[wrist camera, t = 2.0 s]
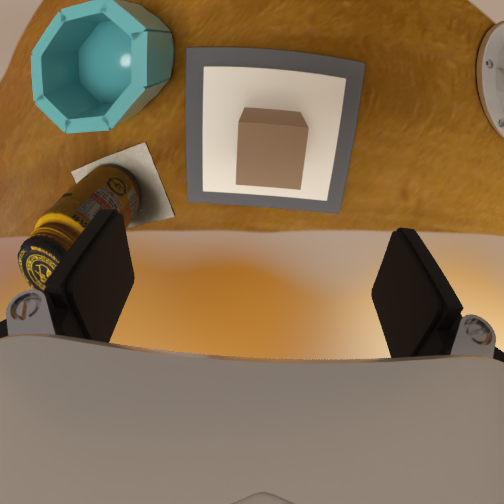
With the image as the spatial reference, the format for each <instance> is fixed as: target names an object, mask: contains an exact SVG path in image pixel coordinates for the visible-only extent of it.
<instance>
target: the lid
mask: <svg viewBox="0 0 504 504" xmlns="http://www.w3.org/2000/svg"><path fill="white" fill-rule="evenodd" d="M345 84H346V79H345V78H341V77H335V76H329V75H323V74H316V73H308V72H300V71H291V70H281V69H269V68H255V67H232V66H204V79H203V191H207V192H225V193H240V194H255V195H268V196H280V197H292V198H303V199H313V200H323V201H327V197H328V191H329V186H330V180H331V175H332V169H333V163H334V158H335V152H336V145H337V139H338V133H339V126H340V120H341V113H342V106H343V99H344V91H345Z"/></svg>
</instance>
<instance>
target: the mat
mask: <svg viewBox="0 0 504 504" xmlns="http://www.w3.org/2000/svg"><path fill="white" fill-rule="evenodd" d="M204 66H232V67H255V68H269V69H281V70H291V71H300V72H308V73H316V74H323V75H329V76H335V77H341V78H345V79H346V84H345V91H344V99H343V106H342V113H341V120H340V126H339V133H338V139H337V145H336V152H335V158H334V163H333V169H332V175H331V180H330V186H329V191H328V197H327V201H323V200H313V199H303V198H292V197H280V196H268V195H255V194H240V193H225V192H207V191H203V79H204ZM364 69H365V63H362V62H357V61H352V60H347V59H342V58H336V57H330V56H324V55H317V54H310V53H302V52H294V51H284V50H273V49H259V48H238V47H193V48H186V93H185V119H186V170H187V197H188V202H193V203H211V204H227V205H242V206H256V207H269V208H281V209H293V210H304V211H315V212H326V213H336V214H339V211H340V207H341V202H342V197H343V193H344V188H345V183H346V178H347V173H348V168H349V163H350V157H351V152H352V147H353V141H354V135H355V129H356V123H357V117H358V111H359V105H360V98H361V91H362V84H363V77H364Z"/></svg>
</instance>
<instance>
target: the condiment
mask: <svg viewBox="0 0 504 504" xmlns="http://www.w3.org/2000/svg"><path fill="white" fill-rule="evenodd" d="M130 169H132V171H131V170H130ZM134 170H136V172H134ZM71 173H72V175H73V177H74V179H75V181H76V183H77V184H76V185H74V186H73V187H72V188H70V190H68V192H67V193H66V194H64V195H63V196H62V197H61V198H60V199H59V200H58V201H57V202H56V203H55V204H54V205H53V206H52V207H51V208H50V209H49V210H48V211H46V212H45V213H44V214H43V215H42V216H41V218H40V219H39V220H38V222H37V224H36V225H35V229H34V231H33V232H32V233H31V234H30V236H29V238H28V239H27V240H26V241H24V243H23V244H22V246H21V249H20V251H19V253H18V262H19V267H20V269H21V272H22V274H23V276H24V278H25V279H26V281H27V282H28V283H29V285H30V286H31V287H32V288H33V289H35V290H39V291H41V292H42V293H43V291H44V289H45V288H46V286H45V282H46V281H47V279H48V278H49V276H50V275H51V273H52V272H53V270H54V269H55V268H56V266H57V265H58V263H59V262H60V261H61V259H62V258H63V257H64V255H65V254H66V252H67V251H68V250H69V248H70V247H71V246H72V244H73V243H74V242H75V240H76V239H77V238H78V237H79V235H80V234H81V233H82V231H83V230H84V229H85V228H86V226H87V225H88V224H89V223H90V221H91V220H92V219H93V218H94V217H95V215H96V214H97V213H98V212H99V210H101V209H116V210H118V212H119V213H121V214H122V215H123V219H124V224H125V230H126V229H127V228H129V227H133V226H137V225H143V224H146V223H150V222H153V221H158V220H163V219H167V218H171V217H174V214H173V211H172V209H171V205H170V203H169V200H168V198H167V196H166V193H165V190H164V188H163V185H162V183H161V180H160V178H159V174H158V172H157V170H156V168H155V166H154V163H153V160H152V158H151V155H150V153H149V151H148V148H147V146H146V143H145V142H144V143H141V144H139V145H136V146H133V147H130V148H128V149H125V150H123V151H120V152H117V153H115V154H112V155H110V156H107V157H104V158H102V159H99V160H97V161H95V162H92V163H90V164H88V165H85V166H83V167H81V168H78V169H76V170H74V171H72V172H71ZM140 210H142V211H140Z"/></svg>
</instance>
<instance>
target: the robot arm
mask: <svg viewBox="0 0 504 504" xmlns="http://www.w3.org/2000/svg"><path fill="white" fill-rule="evenodd" d="M477 84H478V91H479V96H480V100H481V103H482V106H483V109H484V112H485V114H486V116H487V118H488V120H489V122H490V124H491V125H492V126H493V128H494V129H495V131H496V132H497V133H498V134H499V135H500V136H501V137H502V138H504V21H502V22H499V23H497V24H495V25H494V26H493V27H492V28H491V29H490V30H489V31H488V32H487V33H486V35H485V37H484V38H483V40H482V43H481V46H480V49H479V53H478V59H477ZM133 284H134V271H133V266H132V262H131V257H130V252H129V247H128V242H127V236H126V230H125V224H124V219H123V215H122V214H121V213H119V212H118V210H116V209H101V210H99V212H98V213H97V214H96V215H95V217H94V218H93V219H92V220H91V221H90V223H89V224H88V225H87V226H86V228H85V229H84V230H83V231H82V233H81V234H80V235H79V237H78V238H77V239H76V240H75V242H74V243H73V244H72V246H71V247H70V248H69V250H68V251H67V252H66V254H65V255H64V257H63V258H62V259H61V261H60V262H59V263H58V265H57V266H56V268H55V269H54V270H53V272H52V273H51V275H50V276H49V278H48V279H47V281H46V282H45V286H46V288H45V289H44V291H43V293H42V292H41V291H39V290H35V289H33V290H26V291H23V292H21V293H20V294H18V295H17V296H15V297H14V298H13V299H12V300H11V302H10V303H9V304H8V307H7V310H6V318H7V319H5V320H3V321H1V322H0V504H504V352H502V351H501V350H499V349H498V348H496V347H495V342H496V336H495V333H494V330H493V329H492V327H491V326H490V325H489V323H488V322H486V321H485V320H484V319H482V318H481V317H478V316H476V315H466V316H465V317H462V315H461V314H460V313H461V311H462V310H463V307H462V304H461V303H460V301H459V299H458V297H457V296H456V294H455V292H454V291H453V289H452V287H451V285H450V284H449V282H448V281H447V279H446V277H445V276H444V274H443V272H442V271H441V269H440V268H439V266H438V264H437V263H436V261H435V259H434V258H433V256H432V255H431V253H430V252H429V250H428V249H427V247H426V246H425V244H424V243H423V241H422V240H421V238H420V237H419V235H418V234H417V232H416V231H415V230H414V229H408V228H398V229H397V230H396V231H394V232H393V233H392V235H391V238H390V241H389V244H388V247H387V250H386V252H385V255H384V258H383V261H382V264H381V267H380V269H379V272H378V275H377V277H376V280H375V283H374V285H373V288H372V300H373V303H374V306H375V309H376V311H377V314H378V317H379V320H380V323H381V326H382V329H383V332H384V336H385V339H386V342H387V345H388V348H389V351H390V355H391V358H380V359H349V360H348V359H347V360H303V359H266V358H246V357H229V356H217V355H204V354H192V353H183V352H174V351H164V350H156V349H148V348H141V347H133V346H127V345H120V344H113V343H109V341H110V338H111V336H112V333H113V331H114V329H115V326H116V324H117V321H118V319H119V316H120V314H121V312H122V309H123V307H124V304H125V302H126V300H127V297H128V295H129V293H130V291H131V288H132V286H133Z"/></svg>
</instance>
